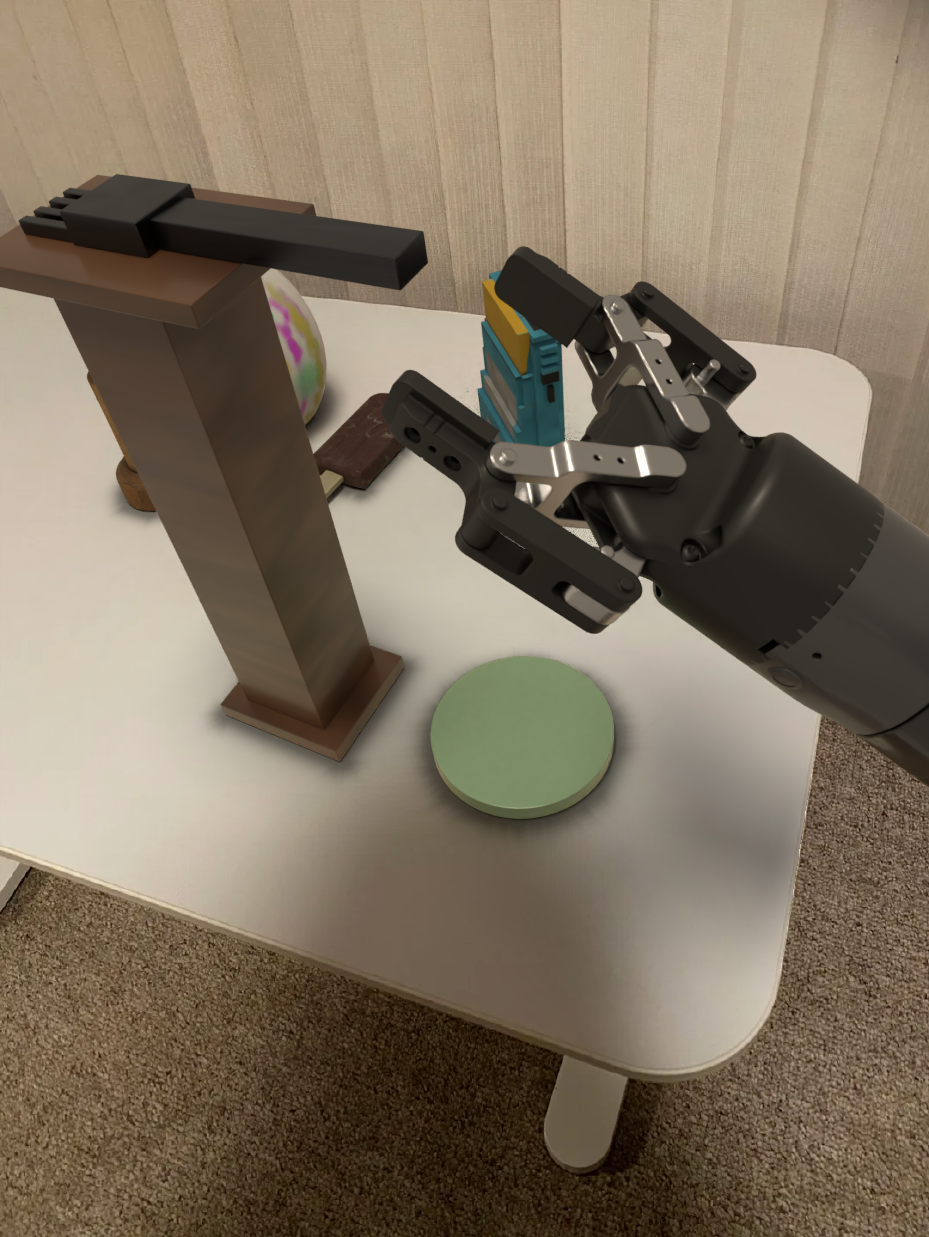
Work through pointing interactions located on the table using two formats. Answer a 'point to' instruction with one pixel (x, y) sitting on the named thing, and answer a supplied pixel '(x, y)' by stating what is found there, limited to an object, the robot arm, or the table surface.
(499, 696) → the plate
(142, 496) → the mortar and pestle
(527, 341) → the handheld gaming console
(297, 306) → the decorative egg
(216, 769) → the table surface
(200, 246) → the fork
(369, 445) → the ice cream bar
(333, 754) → the stand
